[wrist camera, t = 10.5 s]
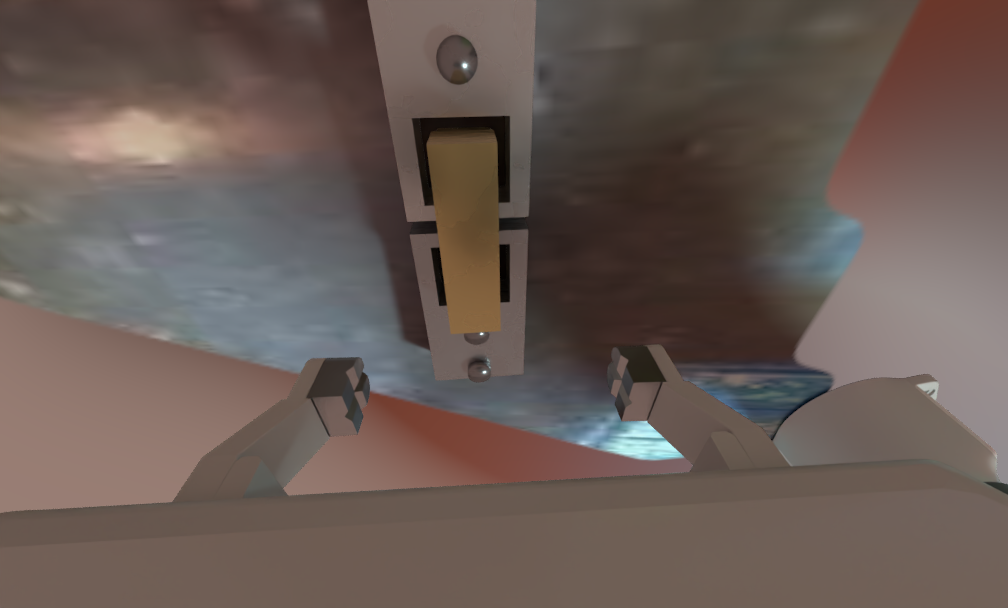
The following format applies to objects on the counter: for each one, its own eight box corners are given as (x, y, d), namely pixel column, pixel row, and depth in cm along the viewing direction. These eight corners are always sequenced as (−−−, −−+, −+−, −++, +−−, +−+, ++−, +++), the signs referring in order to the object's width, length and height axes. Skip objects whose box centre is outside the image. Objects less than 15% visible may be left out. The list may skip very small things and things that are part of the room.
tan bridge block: (436, 118, 20) (426, 144, 15) (489, 117, 20) (497, 142, 15) (453, 277, 26) (450, 334, 21) (494, 275, 27) (500, 331, 22)
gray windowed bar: (366, -84, 15) (343, -112, 12) (528, -82, 16) (542, -108, 13) (438, 353, 31) (435, 386, 28) (518, 348, 31) (524, 380, 28)
